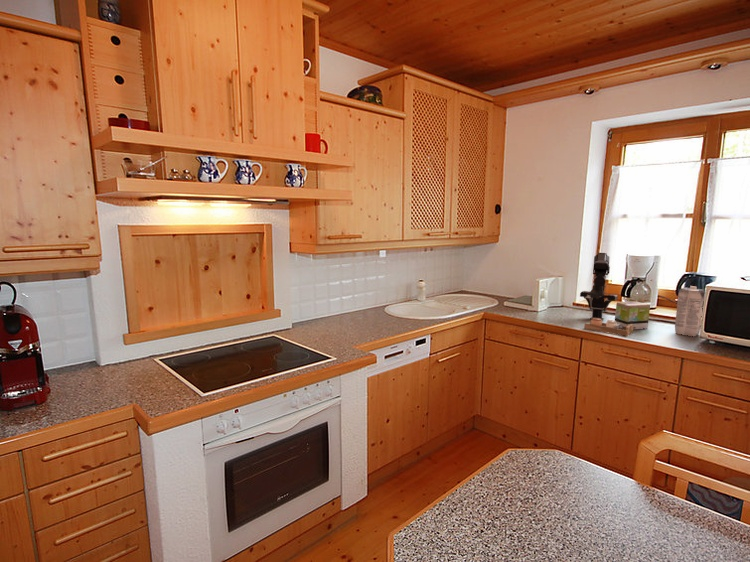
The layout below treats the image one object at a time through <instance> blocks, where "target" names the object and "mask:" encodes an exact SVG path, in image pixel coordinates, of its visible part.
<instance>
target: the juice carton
mask: <svg viewBox="0 0 750 562" xmlns="http://www.w3.org/2000/svg"><path fill="white" fill-rule="evenodd" d="M689 286H690V287H682V288H680V289H679V290H678V296H677V304H676V314H675V321H674V322H675V323H674V330H675V334H676V333H677V335H681V334H682V335H683V336H687V335H688V336H687V337H692V336H693V337H696V336H698V335H699V333H700V332H701V327H700V325H701V326H702V320H701V316H702V317H703V312H702V308H703V309H704V303H703V301H705V289H701V288H697V286H693V285H689ZM682 335H681V336H682ZM693 337H692V338H693Z"/></svg>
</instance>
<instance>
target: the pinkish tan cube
mask: <svg viewBox="0 0 750 562" xmlns="http://www.w3.org/2000/svg"><path fill="white" fill-rule="evenodd" d="M590 321H591V324H592V325H598V326H602V323H603V320H601V319H600V318H593V319H591V320H590Z"/></svg>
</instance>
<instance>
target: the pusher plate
mask: <svg viewBox="0 0 750 562" xmlns="http://www.w3.org/2000/svg"><path fill="white" fill-rule="evenodd" d="M616 329H622V330H623V327H621V323H619V324H618V325H616Z"/></svg>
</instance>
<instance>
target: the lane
mask: <svg viewBox="0 0 750 562" xmlns="http://www.w3.org/2000/svg"><path fill="white" fill-rule="evenodd" d="M591 321H592V320H589V323H584V327H583V329H584V328H586V329H585V330H590V329H591V331H595V330H597V331H596V332H601V331H603V332H602V333H606V332H609V333H608V334H612V333H614V334H613V335H617V334H618V336H623V335H625V336H624V337H628V335H629V334H630V335H632V334H633V331H634V329H633V324H630V325H629V326H627V327H625V326H621V327H623V330H622V329H616V328H610V327H606V322H602V326H598V325H592V324H591ZM631 333H632V334H631ZM630 335H629V336H630Z"/></svg>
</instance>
